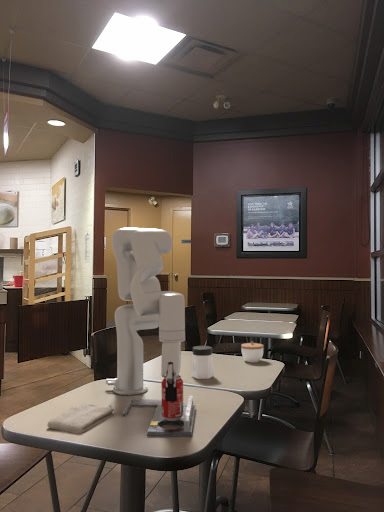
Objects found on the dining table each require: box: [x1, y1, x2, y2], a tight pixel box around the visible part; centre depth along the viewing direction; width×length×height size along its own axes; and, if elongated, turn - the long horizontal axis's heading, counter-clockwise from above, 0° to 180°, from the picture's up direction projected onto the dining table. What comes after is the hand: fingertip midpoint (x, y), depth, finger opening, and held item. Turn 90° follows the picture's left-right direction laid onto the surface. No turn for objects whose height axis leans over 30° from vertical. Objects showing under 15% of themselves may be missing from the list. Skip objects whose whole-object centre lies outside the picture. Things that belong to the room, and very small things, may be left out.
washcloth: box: [47, 403, 115, 434], centre depth 131 cm, size 12×18×3 cm, turn 159°
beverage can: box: [161, 374, 184, 421], centre depth 128 cm, size 6×6×12 cm
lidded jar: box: [240, 341, 265, 364], centre depth 210 cm, size 11×11×9 cm
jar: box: [191, 345, 214, 380], centre depth 182 cm, size 9×8×12 cm
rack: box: [146, 395, 196, 438], centre depth 130 cm, size 12×23×4 cm, turn 177°
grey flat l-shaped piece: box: [121, 398, 162, 418], centre depth 141 cm, size 12×16×1 cm
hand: (172, 396), depth 128 cm, fingers closed on beverage can, 6 cm apart
